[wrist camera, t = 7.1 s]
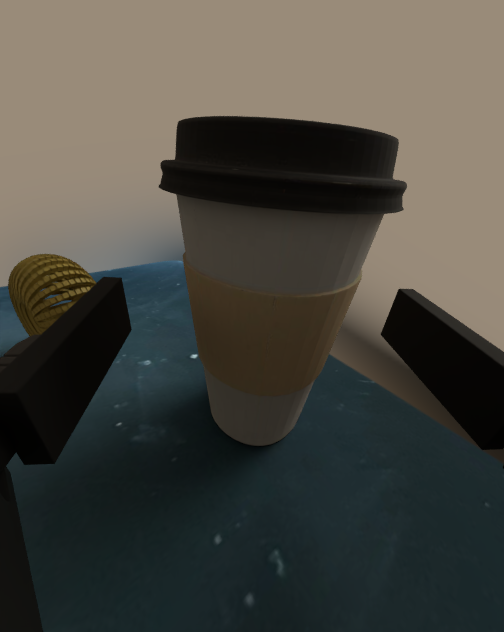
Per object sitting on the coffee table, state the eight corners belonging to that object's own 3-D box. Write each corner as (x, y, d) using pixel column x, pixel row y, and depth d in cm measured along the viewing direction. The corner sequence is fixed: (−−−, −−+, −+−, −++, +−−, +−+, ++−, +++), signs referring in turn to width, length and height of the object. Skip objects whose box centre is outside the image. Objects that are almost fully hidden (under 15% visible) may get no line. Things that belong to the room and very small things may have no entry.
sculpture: (132, 364, 20) (111, 264, 16) (76, 396, 17) (33, 284, 13) (79, 326, 24) (51, 238, 19) (26, 347, 21) (-20, 248, 17)
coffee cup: (323, 373, 21) (388, 151, 13) (327, 503, 13) (501, 124, 5) (211, 350, 22) (210, 138, 14) (151, 454, 14) (76, 100, 6)
